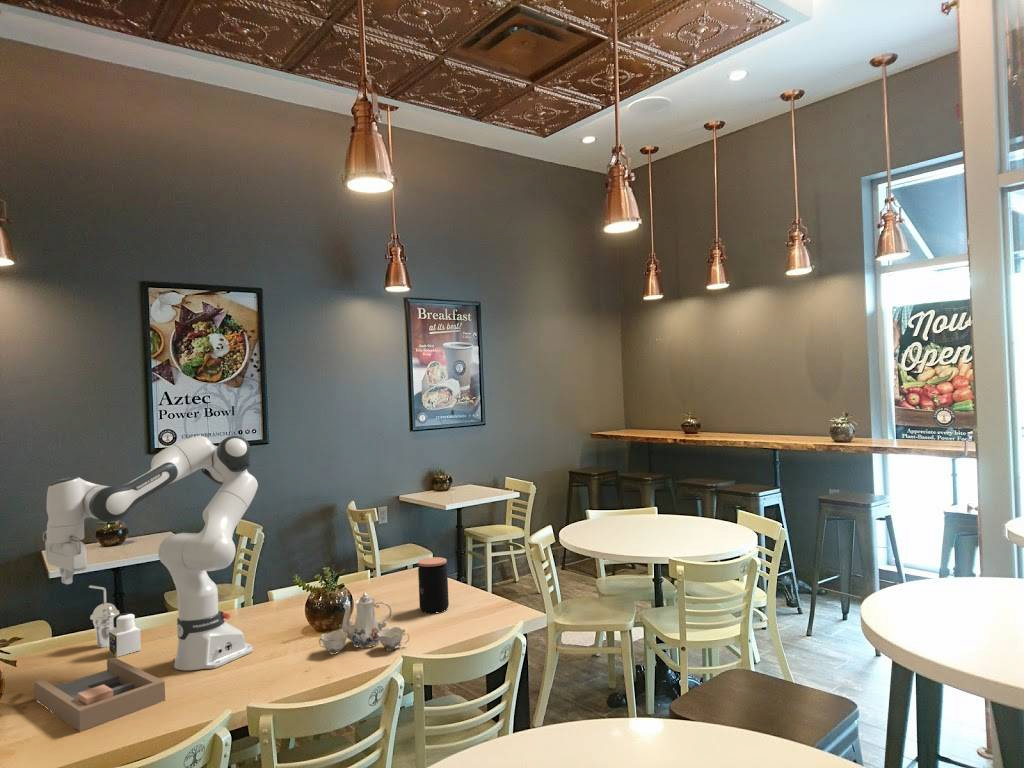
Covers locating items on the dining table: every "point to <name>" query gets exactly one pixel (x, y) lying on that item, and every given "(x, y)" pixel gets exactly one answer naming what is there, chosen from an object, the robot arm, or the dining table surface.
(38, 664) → the dining table surface
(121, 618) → the medicine bottle
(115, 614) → the cup with straw
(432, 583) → the coffee jar
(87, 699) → the terracotta block
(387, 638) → the chinaware
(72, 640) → the dining table surface
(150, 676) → the box
